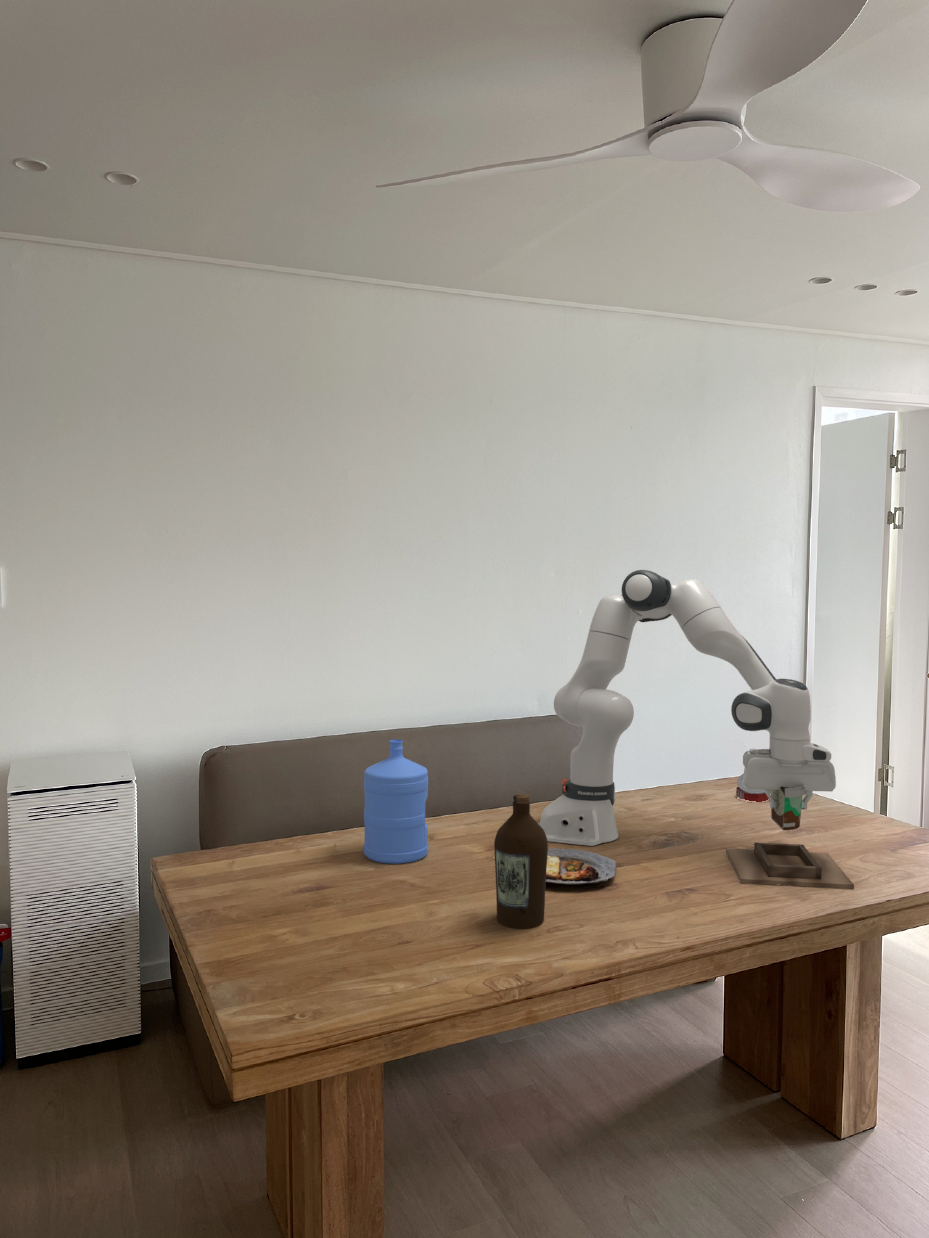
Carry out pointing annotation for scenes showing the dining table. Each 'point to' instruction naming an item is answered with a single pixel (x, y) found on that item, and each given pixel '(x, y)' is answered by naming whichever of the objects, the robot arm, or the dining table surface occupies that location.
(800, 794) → the food container
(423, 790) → the water jug
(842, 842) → the dining table surface
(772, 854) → the caddy board
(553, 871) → the food plate
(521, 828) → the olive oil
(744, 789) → the canned food
